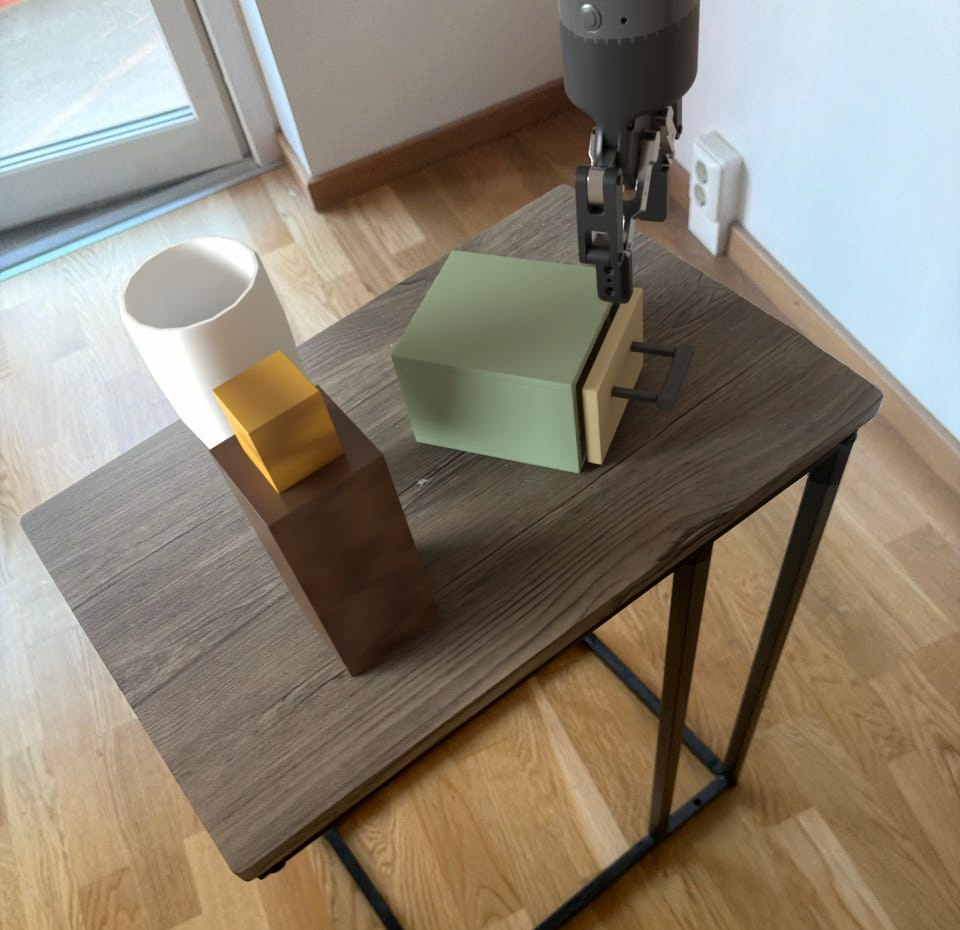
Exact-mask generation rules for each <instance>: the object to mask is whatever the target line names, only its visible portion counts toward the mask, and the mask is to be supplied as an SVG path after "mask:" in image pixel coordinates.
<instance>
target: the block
mask: <svg viewBox="0 0 960 930" xmlns="http://www.w3.org/2000/svg"><path fill="white" fill-rule="evenodd" d="M306 376H307V375H306ZM306 376H305V375H304V374H303V373H302V372H301V371H300V369H299V368H298V367H297V366H296V365H295V364H294V363H293V362H292V361H291V360H290V359H289V358H288V357H287V356H286V355H285V353H284V352H283V351H282V350H279V351H277V352H276V353H274V354H272V355H271V356H269V357H267V358H265V359H264V360H262V361H260V362H259V363H257V364H255V365H254V366H252V367H250V368H248V369H247V370H245V371H243V372H242V373H240V374H238V375H237V376H235V377H233V378H231V379H230V380H228V381H226V382H225V383H223V384H221V385H220V386H218V387H216V388H214V389H213V390H212V392H213V394H214V396H215V398H216V399H217V401H218V403H219V405H220V407H221V409H222V411H223V412H224V414H225V416H226V418H227V420H228V422H229V424H230V426H231V427H232V429H233V431H234V433H235V435H236V437H237V439H238V441H239V442H240V444H241V446H242V448H243V450H244V451H245V453H246V454H247V455H248V456H249V458H250V459H251V460H252V461H253V462H254V464H255V465H256V466H257V467H258V469H259V470H260V471H261V472H262V474H263V475H264V476H265V477H266V479H267V480H268V481H269V482H270V484H271V485H272V486H273V487H274V488H275V490H276V491H277V492H278V493H281V492H283V491H284V490H286V489H288V488H289V487H291V486H292V485H294V484H296V483H297V482H299V481H300V480H302V479H304V478H305V477H307V476H308V475H310V474H312V473H313V472H315V471H316V470H318V469H320V468H321V467H323V466H324V465H326V464H328V463H329V462H331V461H332V460H334V459H336V458H337V457H339V456H340V455H342V454H344V450H343V448H342V445H341V443H340V440H339V438H338V435H337V433H336V430H335V428H334V425H333V423H332V420H331V418H330V415H329V413H328V410H327V408H326V405H325V403H324V401H323V398H322V396H321V393H320V391H319V390H318V389H317V388H316V387H315V386H316V385H315V384H314V383H313V382H312V381H311V380H310V379H309V378H308V376H307V377H306Z"/></svg>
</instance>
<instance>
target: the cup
mask: <svg viewBox="0 0 960 930" xmlns="http://www.w3.org/2000/svg"><path fill="white" fill-rule="evenodd" d="M118 302H119V308H120V315H121V320H122V322H123V323H124V325H125V327H126V329H127V331H128V332H129V335H130V336H131V338H132V340H133V342H134V343H135V345H136V347H137V349H138V352H139V353H140V355H141V356H142V358H143V360H144V362H145V364H146V366H147V367H148V369H149V371H150V373H151V375H152V376H153V378H154V380H155V381H156V383H157V384H158V386H159V387H160V389H161V390H162V392H163V393H164V395H165V396H166V398H167V399H168V400H169V402H170V404H171V405H172V406H173V408H174V409H175V411H176V412H177V414H178V416H179V417H180V418H181V420H182V421H183V423H184V424H185V425H186V426H187V427H188V428H189V429H190V430H191V431H192V432H193V433H194V434H195V435H196V436H197V437H198V439H200V440H201V441H202V443H204V444H205V445H206V447H207V448H208V449H211V448H213V447H214V446H216V445H218V444H219V443H221V442H223V441H224V440H226V439H228V438H229V437H231V436H232V435H234V434H235V433H234V431H233V429H232V427H231V426H230V424H229V422H228V420H227V418H226V416H225V414H224V412H223V411H222V409H221V407H220V405H219V403H218V401H217V399H216V398H215V396H214V394H213V392H212V390H213V389H214V388H216V387H218V386H220V385H221V384H223V383H225V382H226V381H228V380H230V379H231V378H233V377H235V376H237V375H238V374H240V373H242V372H243V371H245V370H247V369H248V368H250V367H252V366H254V365H255V364H257V363H259V362H260V361H262V360H264V359H265V358H267V357H269V356H271V355H272V354H274V353H276V352H277V351H279V350H282V351H283V352H284V353H285V355H286V356H287V357H288V358H289V359H290V360H291V361H292V362H293V363H294V364H295V365H296V366H297V367H298V368H299V369H300V371H301V372H302V373H303V374H304V375H305V376H306V377H307V378H308V376H307V374H306V370H305V367H304V365H303V362H302V361H303V360H302V358H301V355H300V352H299V350H298V346H297V344H296V340H295V338H294V335H293V332H292V329H291V327H290V326H291V325H290V324H289V321H288V318H287V314H286V313H285V310H284V308H283V305H282V304H281V301H280V299H279V296H278V294H277V292H276V290H275V288H274V286H273V283H272V281H271V278H270V277H269V275H268V272H267V270H266V268H265V266H264V264H263V262H262V259H261V257H260V255H259V253H258V252H257V251H255V250H254V249H252V248H251V247H250V246H249V245H247V244H246V243H245V242H243V241H241V240H240V239H236V238H232V237H227V236H223V235H207V236H206V235H205V236H197V237H191V238H187V239H183V240H182V241H179V242H176V243H173V244H170V245H167V246H164V247H163V248H161V249H160V250H158V251H157V252H155V253H154V254H152V255H150V256H149V257H147V258H145V259H144V260H142V262H141V263H140V264H139V265H138V266H137V267H136V268H135V269H134V270H133V271H132V272H131V274H129V276H127V278H126V280H125V283H124V285H123V288H122V291H121V293H120V295H119V299H118Z"/></svg>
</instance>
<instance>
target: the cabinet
mask: <svg viewBox="0 0 960 930" xmlns="http://www.w3.org/2000/svg"><path fill="white" fill-rule="evenodd" d="M620 304H621V303H613V302H605V301H602V300H600V299H599V297H598V294H597V279H596V267H594V266H585V265H577V264H570V263H561V262H552V261H545V260H536V259H529V258H520V257H511V256H504V255H497V254H490V253H489V254H486V253H482V252H481V253H480V252H471V251H465V250H464V251H463V250H456V249H452V251H451V252H450V254H449V256H448V258H447V259H446V261H445V263H444V264H443V266H442V268H441V269H440V271H439V273H438V274H437V276H436V278H435V280H434V282H433V283H432V285H431V286H430V288H429V289H428V292H427V293H426V295H425V296H424V298H423V300H422V302H421V303H420V305H419V307H418V308H417V310H416V312H415V314H414V315H413V316H412V319H411V320H410V322H409V324H408V325H407V327H406V329H405V331H404V333H403V334H402V336H401V337H400V339H399V340H398V342H397V345H396V346H395V348H394V349H393V351H392V353H391V354H390V357H391V361H392V363H393V367H394V371H395V374H396V377H397V381H398V385H399V387H400V390H401V393H402V398H403V400H404V404H405V407H406V410H407V413H408V417H409V420H410V423H411V427H412V431H413V433H414V436H415V437H414V438H415V440H416V442H417V443H422V444H427V445H432V446H437V447H442V448H446V449H452V450H458V451H463V452H466V453H472V454H477V455H482V456H488V457H493V458H496V459H497V458H499V459H502V460H507V461H513V462H519V463H523V464H529V465H534V466H539V467H544V468H549V469H554V470H558V471H563V472H569V473H574V474H580V473H581V471H582V469H583V468H584V464H585V462H586V459H587V447H586V434H585V427H584V429H583V431H582V433H581V436H580V431H579V420H578V408H577V397H576V383H577V381H578V379H579V377H580V375H581V372H582V370H583V368H584V366H585V364H586V361H587V359H588V357H589V355H590V353H591V350H592V348H593V346H594V344H595V342H596V339H597V337H598V335H599V333H600V331H601V328H602V326H603V324H604V322H605V320H606V317H607V315H608V313H609V311H610V326H611V324H612V322H613V320H614V317H615V315H616V313H617V311H618V308H619V306H620Z"/></svg>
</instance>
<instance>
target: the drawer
mask: <svg viewBox="0 0 960 930" xmlns="http://www.w3.org/2000/svg"><path fill="white" fill-rule="evenodd" d="M644 354H645V355H652V356H658V357H664V358H665V357H666V358H671V361H670V364H669V367H668V369H667V371H666V374H665V377H664V379H663V382H662V384H661V387H660V389H659V391H658V392H654V391H648V390H647V391H646V390H641V389H634V388H635V386H636V384H637V381H638V379H639V376H640V374H641V371H642V369H643V366H644ZM694 355H695V347H694V346H693V345H692V344H690V343H687V342H682V343H680V344H678V345H677V346H676V347H675V346H670V345H663V344H655V343H649V342H644V289H643V288H641V287H634V286H633V294H632V296H631V299H630V301H629V302H628V303H626V304H620V306H619V308H618V311H617V313H616V315H615V317H614V320H613V322H612V324H611V326H610V311H609V313H608V315H607V317H606V320H605V322H604V324H603V326H602V328H601V331H600V333H599V335H598V337H597V339H596V342H595V344H594V346H593V348H592V350H591V353H590V355H589V357H588V359H587V361H586V364H585V366H584V368H583V370H582V372H581V375H580V377H579V379H578V381H577V383H576V397H577V408H578V420H579V431H580V436H581V433H582V431H583V429H584V427H585V434H586V447H587V457H586V459H587V463H590V464H597V465H603V463H604V461H605V459H606V455H607V453H608V451H609V448H610V446H611V443H612V441H613V439H614V436H615V435H616V432H617V429H618V427H619V424H620V422H621V420H622V417H623V414H624V412H625V410H626V407H627V405H628V403H629V401H637V402H643V403H647V404H648V403H649V404H654V405H655V406H656V408H657V409H658V410H660V411H663V412H670V411H672V410H673V409H674V407H675V404H676V402H677V399H678V396H679V394H680V391H681V388H682V386H683V384H684V381H685V379H686V376H687V373H688V370H689V368H690V366H691V362H692V360H693V358H694Z"/></svg>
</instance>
